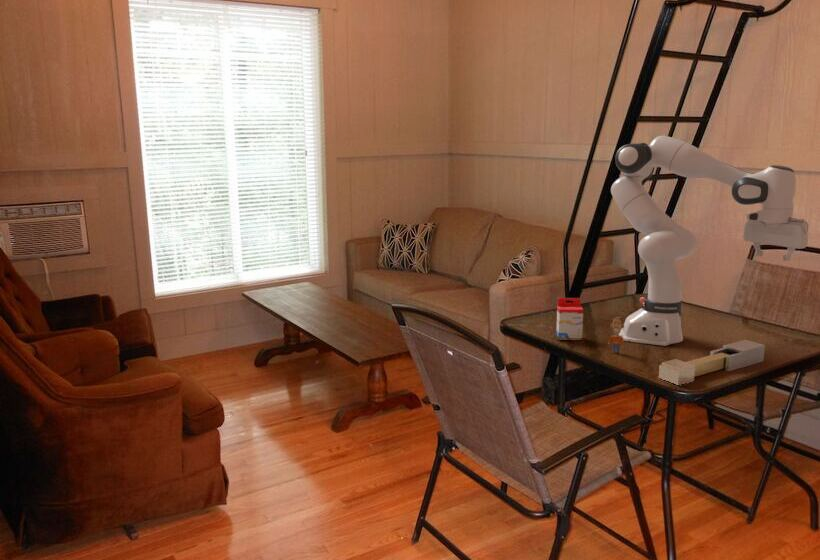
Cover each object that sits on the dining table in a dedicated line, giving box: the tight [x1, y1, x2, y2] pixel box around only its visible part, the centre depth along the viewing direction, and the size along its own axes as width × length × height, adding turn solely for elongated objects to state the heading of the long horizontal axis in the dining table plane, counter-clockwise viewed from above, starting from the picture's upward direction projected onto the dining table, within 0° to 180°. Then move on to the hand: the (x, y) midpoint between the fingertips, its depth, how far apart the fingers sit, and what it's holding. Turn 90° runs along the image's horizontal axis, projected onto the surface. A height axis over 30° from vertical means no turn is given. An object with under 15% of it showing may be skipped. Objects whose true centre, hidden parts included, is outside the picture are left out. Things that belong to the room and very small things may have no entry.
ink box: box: [555, 297, 584, 339], centre depth 240 cm, size 8×5×15 cm, turn 88°
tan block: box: [685, 353, 729, 378], centre depth 205 cm, size 22×4×4 cm, turn 119°
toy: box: [607, 316, 625, 354], centre depth 224 cm, size 5×3×13 cm, turn 59°
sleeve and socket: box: [658, 339, 766, 386], centre depth 208 cm, size 40×7×5 cm, turn 119°
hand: (772, 258), depth 220 cm, fingers open, 8 cm apart
